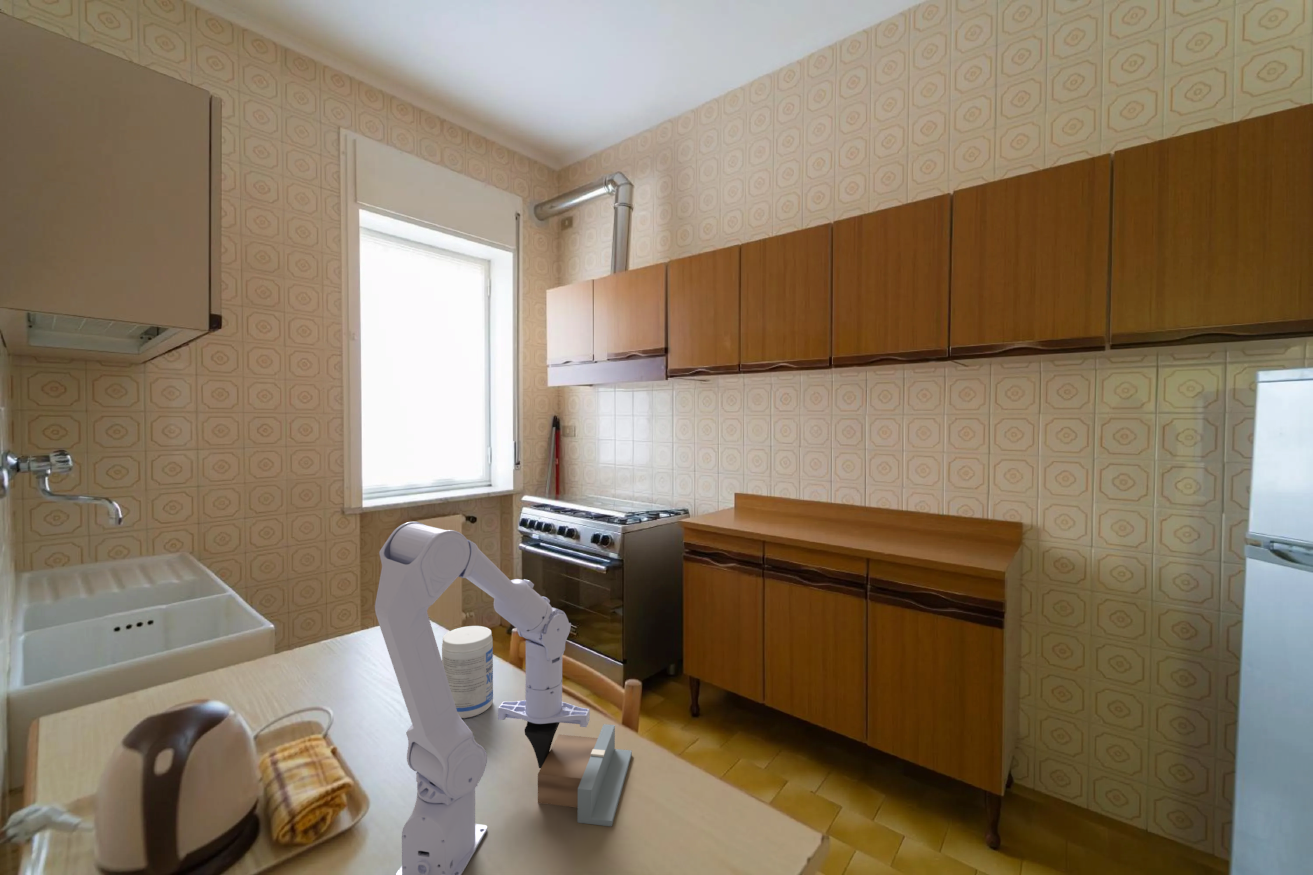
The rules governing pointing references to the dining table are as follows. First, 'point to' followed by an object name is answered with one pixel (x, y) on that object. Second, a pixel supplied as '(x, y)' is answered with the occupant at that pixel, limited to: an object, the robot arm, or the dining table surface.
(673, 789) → the dining table surface
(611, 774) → the board
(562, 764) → the walnut block
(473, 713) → the supplement tub
